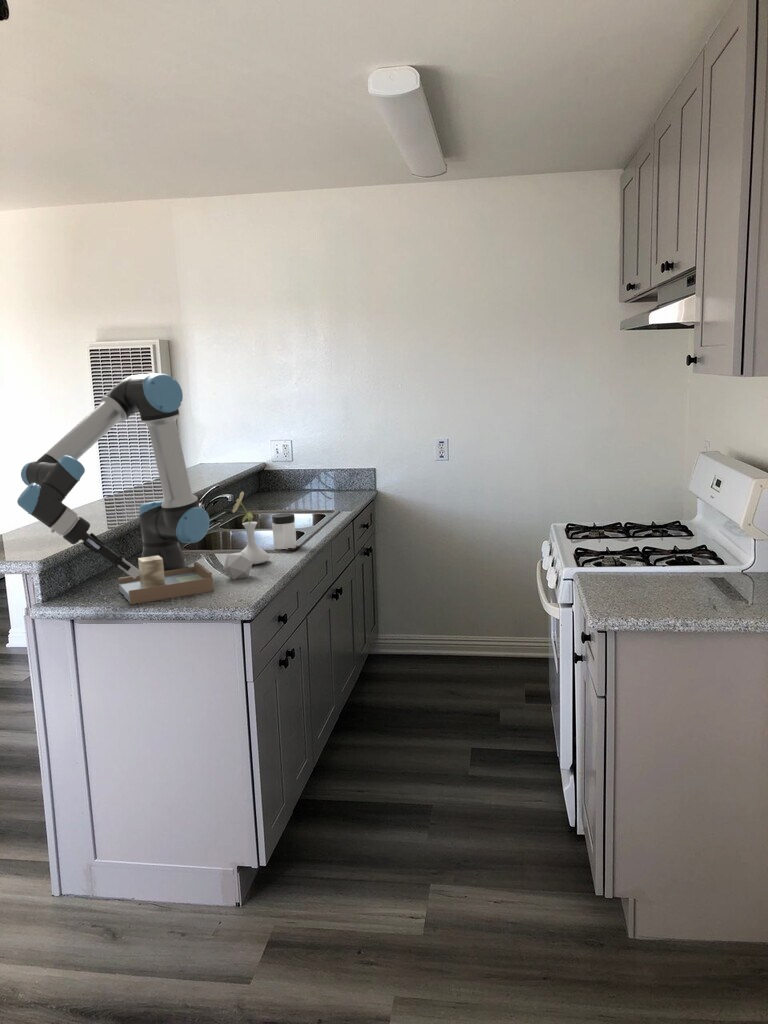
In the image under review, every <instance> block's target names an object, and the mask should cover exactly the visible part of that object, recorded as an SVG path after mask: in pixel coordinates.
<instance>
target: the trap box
mask: <svg viewBox="0 0 768 1024" xmlns="http://www.w3.org/2000/svg"><path fill="white" fill-rule="evenodd" d="M164 577H165V585H160V586H154V587H148V588H144V587H143V586H142V585H141V584H140V574H139V575H138V576H137V577H136V578H135V579H134V578H133V577H131V576H130V575H129V576H123V577H118V591H119V592H120V594H121V595H122V594H123V595H124V596H123V595H122V596H123V597H124V599H127V600H128V601H129V602H130V603H129V602H128V601H127V600H126V601H127V602H128V603H129V605H131V604H132V605H135V604H134V603H138V604H142V603H144V604H145V603H149V602H154V601H160V600H165V599H173V598H179V597H183V596H184V597H185V596H191V595H196V594H202V593H203V594H204V593H207V592H213V591H214V580H213V573H212V571H211V570H209V569H208V568H206V567H205V566H203V565H202V564H200V563H199V562H198V561H194V562H193V566H189V567H186V568H182V569H176V570H169V571H164Z"/></svg>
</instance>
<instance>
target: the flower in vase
mask: <svg viewBox="0 0 768 1024" xmlns="http://www.w3.org/2000/svg"><path fill="white" fill-rule="evenodd" d="M244 495H245V493H244V491H241V492H240V493H239V496H238V498H237V499H236V500H235V502H236V503H234V505H233V507H232V508H233V509H232V510H231V512H232V513H233V514H234V513H235V512H237V510H238V508H239V507H240V506H242V508H243V509H244V511H245V513H246V514H245V515H244V516H243V517H242V521H241V523H242V525H243V527H244V528H245V532H246V536H247V545H246V546H245V547H244V548H243V549H242V550H241V551H240V552H243V553H244V554H245V555H246V556H247V557H248V558H249V559H250V560H251V561H252V562H253V564H252V566H253V565H259V564H262V563H266V562H267V561H268V560H269V559H270V555H269V553H267V552H266V551H265V550H264V549H262V548H261V547H260V546H258V545H257V543H256V541H255V530H256V527H257V524H258V522H257V521H251V520H252V519H253V518H254V515H253V514H252V511H250V510H249V511H247V508H245V506H244V504H243V503H242V502H243V501H242V500H243V497H244ZM246 520H248V521H246ZM245 521H246V522H245Z"/></svg>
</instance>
